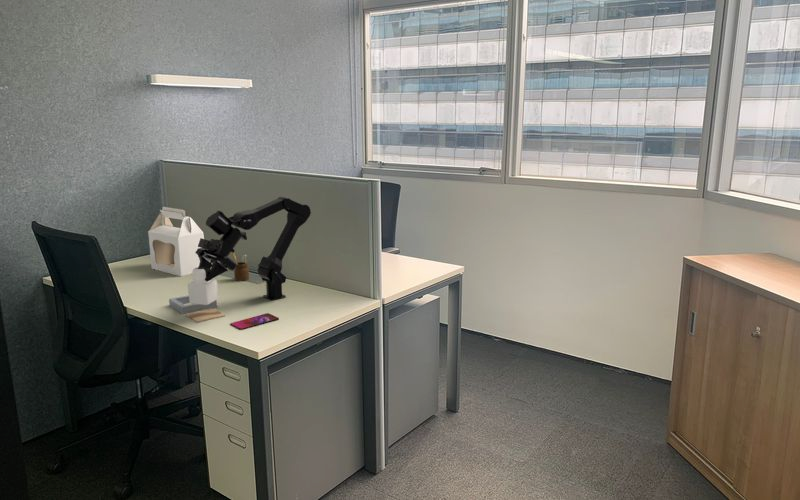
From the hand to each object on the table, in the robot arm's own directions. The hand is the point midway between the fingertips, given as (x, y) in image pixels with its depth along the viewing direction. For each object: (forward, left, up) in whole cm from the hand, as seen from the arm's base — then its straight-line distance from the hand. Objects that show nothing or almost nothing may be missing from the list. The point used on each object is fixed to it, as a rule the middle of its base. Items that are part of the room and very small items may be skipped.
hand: (201, 279), depth 206 cm
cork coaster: (-1, 0, -13) cm, 13 cm away
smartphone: (-18, -10, -14) cm, 25 cm away
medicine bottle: (0, 0, -8) cm, 8 cm away
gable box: (+66, -17, -14) cm, 70 cm away
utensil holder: (+33, -31, -13) cm, 48 cm away
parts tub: (+12, -1, -13) cm, 18 cm away
